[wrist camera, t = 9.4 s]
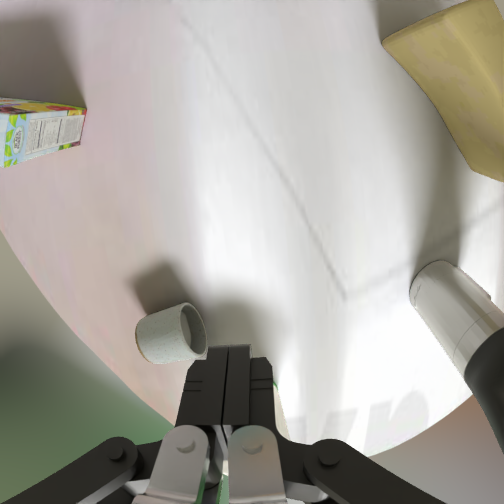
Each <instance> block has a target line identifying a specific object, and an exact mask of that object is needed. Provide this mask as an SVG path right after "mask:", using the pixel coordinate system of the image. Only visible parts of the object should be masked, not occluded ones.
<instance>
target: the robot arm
mask: <svg viewBox="0 0 504 504" xmlns="http://www.w3.org/2000/svg"><path fill="white" fill-rule="evenodd" d="M410 301H411V304H412V306H413V307H414V308H415V310H416V311H417V312H418V314H419V315H420V316H421V318H422V319H423V321H424V322H425V323H426V325H427V326H428V328H429V329H430V330H431V332H432V333H433V335H434V336H435V337H436V339H437V340H438V342H439V343H440V345H441V346H442V347H443V349H444V350H445V352H446V353H447V355H448V356H449V358H450V359H451V361H452V362H453V364H454V365H455V367H456V368H457V370H458V371H459V373H460V374H461V376H462V377H463V379H464V380H465V382H466V384H467V385H468V387H469V388H470V390H471V391H472V393H473V394H474V396H475V397H476V399H477V401H478V402H479V404H480V406H481V407H482V409H483V411H484V413H485V415H486V417H487V419H488V421H489V423H490V425H491V427H492V429H493V431H494V434H495V436H496V438H497V441H498V443H499V445H500V447H501V449H502V452H503V454H504V313H503V312H502V311H501V310H500V309H499V308H498V307H497V306H496V305H495V304H494V303H493V302H492V301H491V296H490V295H489V294H488V293H487V292H486V291H485V290H484V289H483V288H482V287H481V286H479V285H478V284H477V283H476V282H475V281H474V280H473V279H472V278H471V277H469V276H468V275H467V274H466V273H465V272H464V271H463V270H462V269H460V268H459V267H458V266H457V267H454V266H453V265H451V264H450V263H449V262H447V261H442V260H441V261H435V262H433V263H431V264H429V265H427V266H426V267H425V268H423V269H422V270H421V271H420V272H419V274H418V275H417V276H416V278H415V279H414V281H413V283H412V286H411V289H410ZM223 461H228V477H229V504H288V503H287V500H286V498H290V499H295V500H300V501H303V502H304V503H305V504H446V503H444V502H442V501H441V500H439V499H437V498H435V497H433V496H431V495H429V494H427V493H425V492H424V491H422V490H420V489H418V488H417V487H415V486H413V485H412V484H410V483H408V482H406V481H405V480H403V479H401V478H399V477H398V476H396V475H395V474H393V473H391V472H390V471H388V470H386V469H385V468H383V467H382V466H380V465H378V464H377V463H375V462H373V461H372V460H371V459H369V458H367V457H366V456H364V455H363V454H361V453H360V452H358V451H357V450H355V449H354V448H352V447H351V446H349V445H348V444H347V443H345V442H343V441H340V440H337V439H324V440H320V441H318V442H316V443H314V444H313V445H306V444H301V443H296V442H292V441H290V440H288V439H286V438H284V437H283V436H282V435H281V434H280V433H279V431H278V430H277V427H276V420H275V404H274V388H273V372H272V366H271V364H270V363H269V361H268V360H267V358H266V357H260V358H252V351H251V344H242V345H230V346H229V345H222V346H209V348H208V353H207V358H206V360H195V361H194V363H193V364H192V365H191V366H190V368H189V369H188V371H187V376H186V380H185V384H184V389H183V393H182V397H181V402H180V406H179V411H178V415H177V420H176V424H175V427H174V428H173V429H171V430H170V431H169V432H168V433H167V434H166V435H165V436H164V438H163V439H162V440H160V441H158V442H153V443H148V444H142V445H135V444H134V443H133V442H132V441H131V440H129V439H127V438H124V437H113V438H110V439H107V440H106V441H104V442H103V443H101V444H100V445H98V446H97V447H95V448H94V449H92V450H90V451H89V452H87V453H86V454H84V455H83V456H81V457H80V458H78V459H77V460H75V461H73V462H72V463H70V464H69V465H67V466H65V467H64V468H62V469H61V470H59V471H57V472H56V473H54V474H52V475H51V476H49V477H47V478H46V479H44V480H42V481H41V482H39V483H37V484H35V485H34V486H32V487H30V488H28V489H27V490H25V491H23V492H22V493H20V494H18V495H16V496H14V497H12V498H10V499H9V500H7V501H5V502H3V503H1V504H219V502H220V496H221V490H222V483H223V475H222V473H223Z"/></svg>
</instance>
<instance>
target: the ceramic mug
mask: <svg viewBox="0 0 504 504" xmlns="http://www.w3.org/2000/svg"><path fill="white" fill-rule="evenodd" d="M135 339H136V344H137V347H138V350H139V351H140V353H141V355H142V356H143V357H144V358H145V359H146V360H147V361H148V362H151V363H154V364H165V363H171V362H176V361H182V360H188V359H194V358H199V357H202V356H203V355H204V354H205V353H206V350H207V334H206V329H205V325H204V322H203V320H202V318H201V316H200V314H199V313H198V311H197V310H196V308H195V307H194V306H193V305H191V304H190V303H182V304H179V305H176V306H173V307H171V308H168V309H165V310H162V311H159V312H156V313H153V314H150V315H148V316H146V317H144V318H143V319H141V320H140V321H139V322H138V324H137V326H136V331H135Z"/></svg>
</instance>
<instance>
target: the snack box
mask: <svg viewBox="0 0 504 504" xmlns="http://www.w3.org/2000/svg"><path fill="white" fill-rule="evenodd" d="M86 112H87V109H86V108H81V107H75V106H69V105H62V104H56V103H49V102H41V101H32V100H23V99H13V98H1V97H0V167H3V168H7V167H10V166H12V165H15V164H18V163H20V162H23V161H26V160H29V159H32V158H35V157H39V156H42V155H45V154H48V153H52V152H55V151H59V150H62V149H66V148H70V147H74V146H79V145H80V139H81V135H82V129H83V125H84V120H85V116H86Z"/></svg>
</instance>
